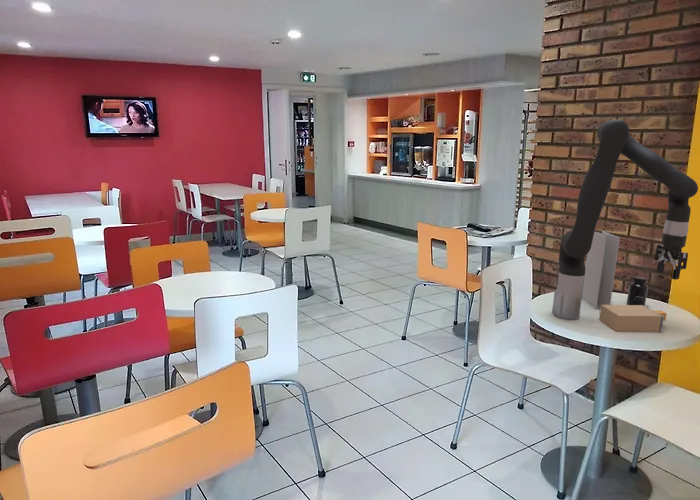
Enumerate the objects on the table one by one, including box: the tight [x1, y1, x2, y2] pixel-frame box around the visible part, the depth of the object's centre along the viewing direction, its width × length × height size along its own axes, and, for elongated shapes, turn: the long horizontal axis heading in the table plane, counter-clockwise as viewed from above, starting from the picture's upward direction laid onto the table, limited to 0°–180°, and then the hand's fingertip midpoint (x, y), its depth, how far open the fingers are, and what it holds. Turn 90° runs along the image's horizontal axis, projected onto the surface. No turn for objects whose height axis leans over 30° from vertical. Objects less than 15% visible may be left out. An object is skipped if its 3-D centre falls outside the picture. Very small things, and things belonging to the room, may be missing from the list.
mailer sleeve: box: [598, 304, 662, 333], centre depth 191 cm, size 16×12×6 cm
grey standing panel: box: [582, 230, 621, 310], centre depth 213 cm, size 14×6×30 cm, turn 179°
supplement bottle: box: [626, 275, 649, 306], centre depth 215 cm, size 7×7×12 cm
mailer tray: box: [644, 305, 668, 332], centre depth 191 cm, size 20×12×5 cm, turn 92°
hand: (667, 275), depth 190 cm, fingers open, 8 cm apart
